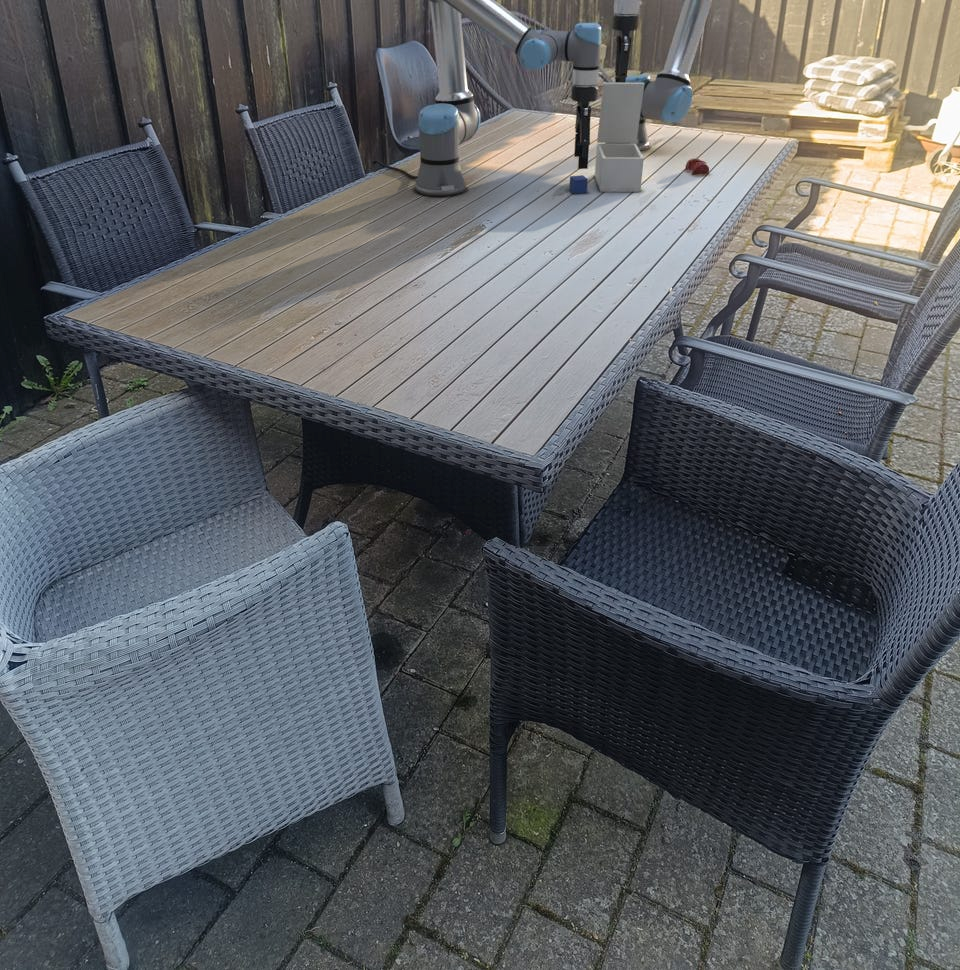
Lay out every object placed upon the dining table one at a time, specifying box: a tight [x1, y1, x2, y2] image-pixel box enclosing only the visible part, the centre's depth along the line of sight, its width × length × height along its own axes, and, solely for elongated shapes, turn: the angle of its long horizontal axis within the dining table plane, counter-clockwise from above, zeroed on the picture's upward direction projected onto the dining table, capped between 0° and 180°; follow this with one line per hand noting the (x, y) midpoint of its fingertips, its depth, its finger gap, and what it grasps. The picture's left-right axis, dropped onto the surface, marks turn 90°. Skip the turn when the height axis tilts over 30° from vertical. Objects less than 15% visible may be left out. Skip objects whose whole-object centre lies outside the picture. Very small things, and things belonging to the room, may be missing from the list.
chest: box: [594, 143, 645, 193], centre depth 261 cm, size 17×12×10 cm
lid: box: [596, 81, 644, 144], centre depth 260 cm, size 18×12×9 cm
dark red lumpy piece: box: [684, 157, 710, 176], centre depth 272 cm, size 6×4×8 cm
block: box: [568, 174, 589, 195], centre depth 256 cm, size 4×4×4 cm
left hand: (580, 162), depth 252 cm, fingers open, 13 cm apart
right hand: (618, 100), depth 261 cm, fingers closed on lid, 1 cm apart
